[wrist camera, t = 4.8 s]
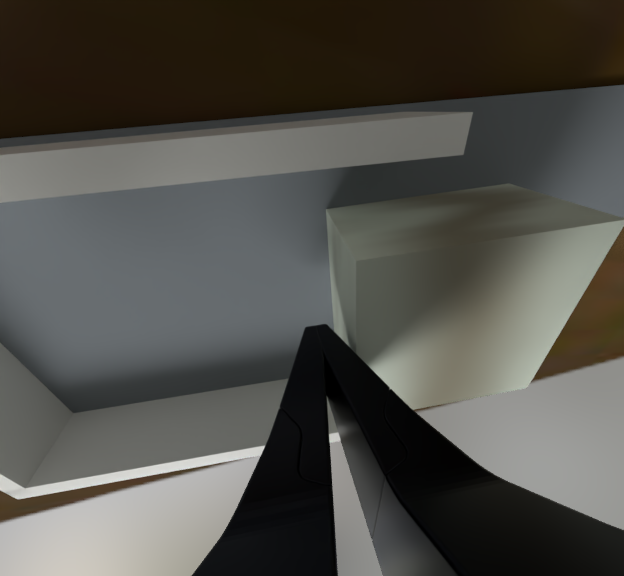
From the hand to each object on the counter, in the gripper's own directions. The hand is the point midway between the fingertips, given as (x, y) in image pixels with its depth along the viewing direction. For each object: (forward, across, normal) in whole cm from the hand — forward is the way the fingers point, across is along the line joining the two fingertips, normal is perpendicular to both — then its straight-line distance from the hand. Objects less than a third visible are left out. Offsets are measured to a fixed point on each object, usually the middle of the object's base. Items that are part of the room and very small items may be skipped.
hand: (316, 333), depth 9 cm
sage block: (+2, -5, 0) cm, 5 cm away
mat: (+3, 0, 0) cm, 3 cm away
